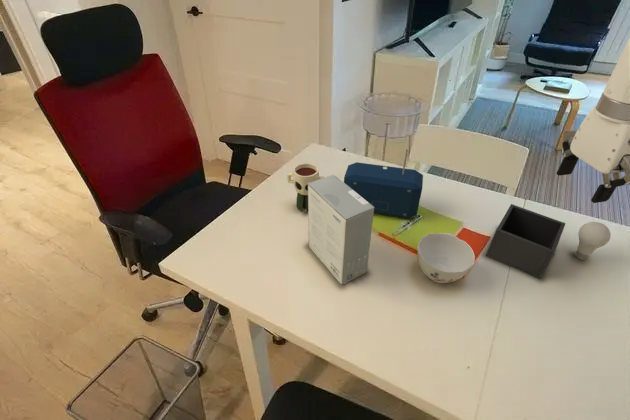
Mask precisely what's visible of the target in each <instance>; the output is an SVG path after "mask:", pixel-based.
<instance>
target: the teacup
mask: <svg viewBox="0 0 630 420" xmlns="http://www.w3.org/2000/svg"><path fill="white" fill-rule="evenodd" d="M416 249H417V250H416V251H417V252H416V254H417V255H416V256H417V261H418V264H419V268H420V270H421V271H422V272H423V274H424V275H426V277H428V278H429V279H430V281H433V282H435V283H438V284H449V283H450V284H451V283H453V282H457V281H458V280H460V279H462V278H463V277H464V276H466V274H468V273H469V272H470V270H471V268H472V267H473V266H474V264H475V263H476V262H475V261H476V255H475V252H474V250H473V249H472V247H471V246H470V245H469V244H468V243H467V242H466V241H465V240H464V239H460V238H459V237H457V236H456V235H454V234H452V233H451V232H449V231H448V232H434V233H428V234H426V235H424V236H422V237H421V238H420V239H419V241H418V243H417V248H416Z"/></svg>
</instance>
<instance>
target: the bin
mask: <svg viewBox="0 0 630 420" xmlns="http://www.w3.org/2000/svg"><path fill="white" fill-rule="evenodd" d="M565 227H566V222H564V221H560V220H558V219H555V218H552V217H550V216H546V215H544V214H541V213H538V212H535V211H532V210H530V209H526V208H524V207H521V206H518V205H515V204H513V203H510V205H509V207H508V209H507V210H506V212H505V214H504V216H503V218H502V219H501V220H500V222H499V224H498V226H497V227H496V229H495V232H494V235H493V236H492V239H491V242H490V244H489V247H488V249H487V252H486V254H485V256H486V257H488V258H490V259H493V260H495V261H496V262H499V263H502V264H504V265H506V266H508V267H511V268H513V269H515V270H518V271H520V272H522V273H525V274H527V275H529V276H532V277H534V278H537V279H538V280H541V278H542V277H543V274H544V272H545V271H546V269H547V267H548V265H549V264H550V262H551V260H552V259H553V257H554V255H555V253H556V252H557V251H556V250H557V248H558V245H559V242H560V240H561V237H562V235H563V232H564V229H565Z"/></svg>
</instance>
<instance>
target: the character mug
mask: <svg viewBox="0 0 630 420" xmlns="http://www.w3.org/2000/svg"><path fill="white" fill-rule="evenodd" d="M291 177H293V179H292V178H291ZM325 177H326V176H323V175H320V168H319V167H318V166H317V165H316V164H314V163H310V162H302V163H299V164H297V165H295V166H294V167H293V171H292V172H287V173H286V178H287V180H286V181H287V183H288V184H293V188H294V190H295V192H296V205H295V206H296V209H297V210H298V211H299V212H304V210H305V212H306V213H308V183H311V182H314V181H316V180H319V179H322V178H325Z"/></svg>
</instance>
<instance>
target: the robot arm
mask: <svg viewBox="0 0 630 420" xmlns="http://www.w3.org/2000/svg"><path fill="white" fill-rule="evenodd" d="M562 140H563V141H562V144H561V145H562V150H563V152H561V156H562V158H563V159H562V161H561V163H560V165H559V166H558V169H557V172H556V173H555V174H556V175H557V176H568V175H572V173H573V171H574V169H576V165H577V163H578V162H579V159H580V160H581V161H583V162H584V163H585V164H587V165H588V166H590V167H591V168H592V169H594V170H595V171H598V172H599V173H601V174H602V183H603V184H602V183H601V184H599V185H598V187H597V189H596V190H595V191H594V194H593V195H592V197H591V198H590V202H592V203H593V204H598V203H605V202H607V201H609V200H610V198H611V197H612V196H613V194H614V192H615V191H616V190H617V187H623V186H627V185H630V37H629V38H628V40H627V42H626V44H625V46H624V48H623V50H622V52H621V54H620V56H619V57H618V60H617V62H616V64H615V66H614V68H613V69H612V72H611V75H610V77H609V78H608V81H607V83H606V85H605V87H604V89H603V92H602V93H601V95H600V97H599V99H598V102H597V104H596V105H594V106H593V107H592V108H591V109H590V110H589V112H588V113H587V114H586V116H585V117H584V119H583V120H582V122H581V124H580V125H579V127H578V129H576V130H565V131H564V132H563V138H562ZM622 173H625V174H624V176H623V175H622Z"/></svg>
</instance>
